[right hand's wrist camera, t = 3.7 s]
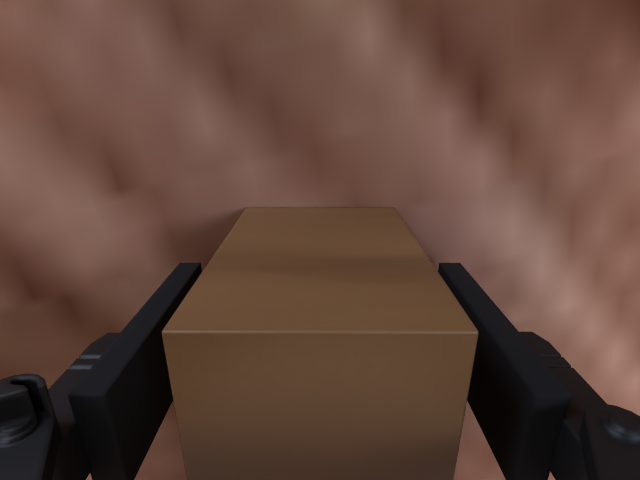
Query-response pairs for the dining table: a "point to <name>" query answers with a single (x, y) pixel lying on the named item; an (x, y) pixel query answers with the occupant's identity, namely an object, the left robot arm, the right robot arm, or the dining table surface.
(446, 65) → the dining table surface
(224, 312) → the bar
